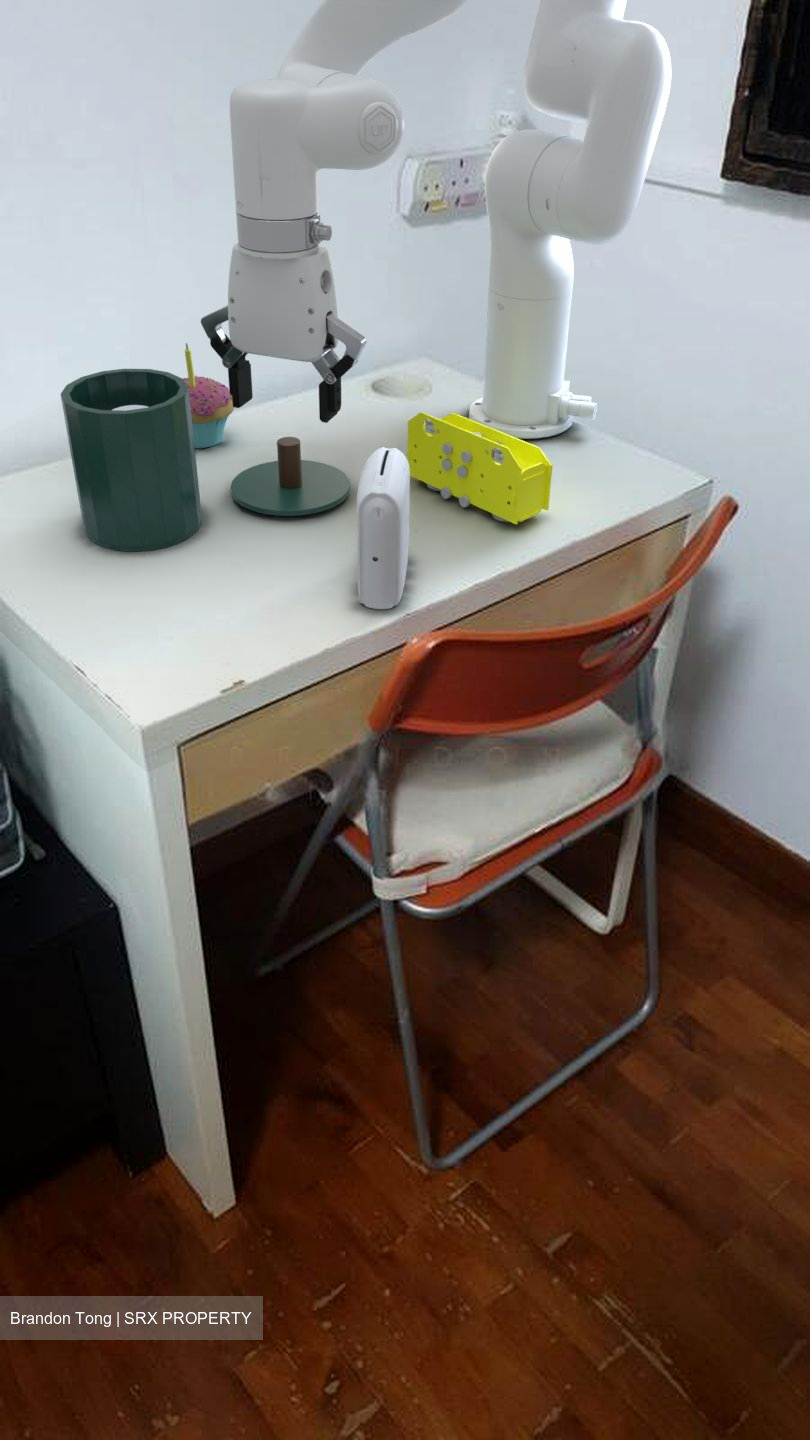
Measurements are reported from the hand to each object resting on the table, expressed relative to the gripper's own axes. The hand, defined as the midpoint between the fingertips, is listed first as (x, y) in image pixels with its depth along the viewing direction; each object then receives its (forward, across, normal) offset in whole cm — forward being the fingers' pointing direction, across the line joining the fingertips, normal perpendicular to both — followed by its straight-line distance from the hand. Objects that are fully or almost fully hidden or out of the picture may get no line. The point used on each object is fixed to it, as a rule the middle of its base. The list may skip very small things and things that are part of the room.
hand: (285, 410), depth 116 cm
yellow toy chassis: (+9, -19, -6) cm, 22 cm away
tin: (+10, +11, +12) cm, 18 cm away
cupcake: (+10, +16, -9) cm, 21 cm away
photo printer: (+10, -16, +14) cm, 23 cm away
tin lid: (+9, 0, 0) cm, 9 cm away
